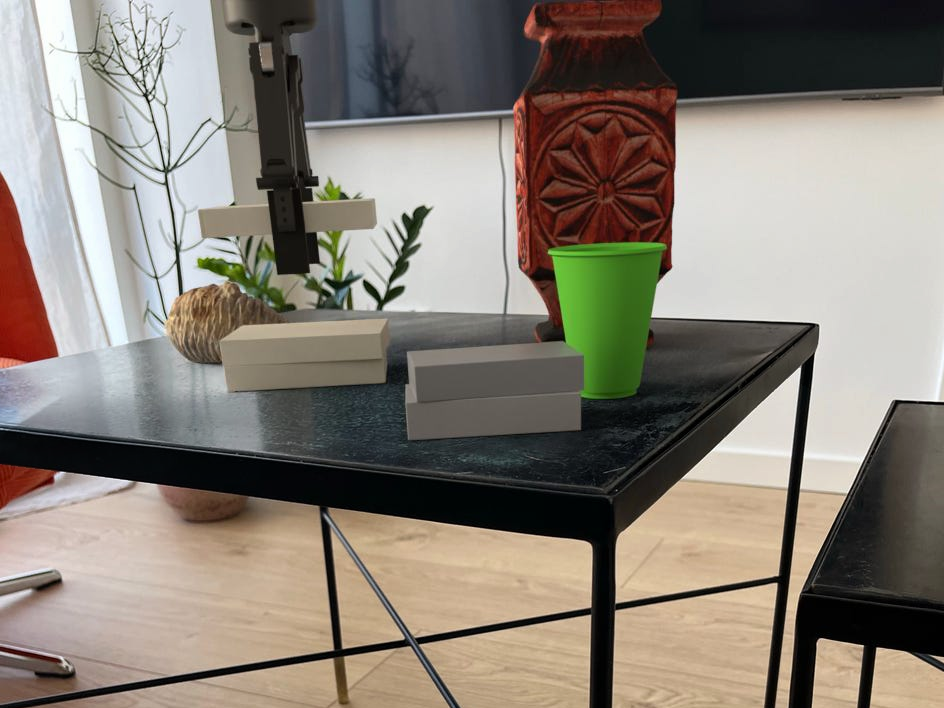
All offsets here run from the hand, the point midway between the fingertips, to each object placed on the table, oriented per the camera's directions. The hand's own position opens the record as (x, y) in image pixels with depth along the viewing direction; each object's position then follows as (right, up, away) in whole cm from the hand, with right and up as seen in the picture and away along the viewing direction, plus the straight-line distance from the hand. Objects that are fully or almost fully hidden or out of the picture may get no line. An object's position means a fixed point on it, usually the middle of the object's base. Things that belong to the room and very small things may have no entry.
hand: (299, 268), depth 90 cm
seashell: (-11, -3, +17) cm, 21 cm away
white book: (0, +3, -1) cm, 3 cm away
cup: (+26, -13, -9) cm, 31 cm away
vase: (+28, -2, +15) cm, 32 cm away
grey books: (+17, -18, -17) cm, 30 cm away
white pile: (0, -9, +4) cm, 10 cm away
